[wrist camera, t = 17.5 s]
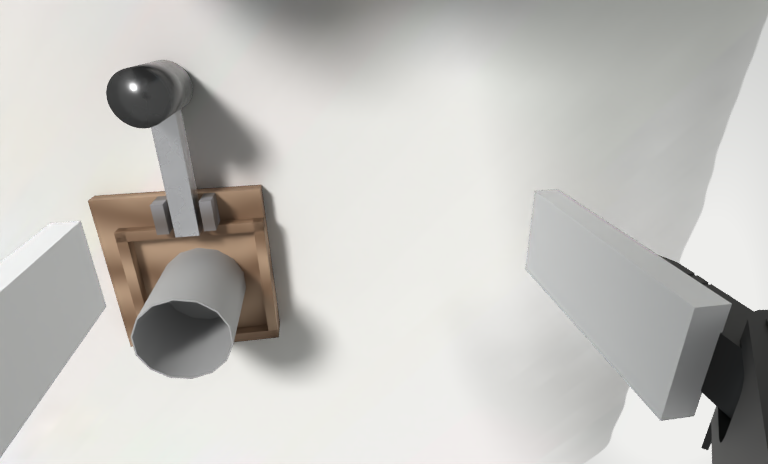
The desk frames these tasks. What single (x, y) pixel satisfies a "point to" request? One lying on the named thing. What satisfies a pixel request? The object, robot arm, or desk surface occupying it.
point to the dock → (160, 246)
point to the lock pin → (162, 131)
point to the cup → (191, 315)
